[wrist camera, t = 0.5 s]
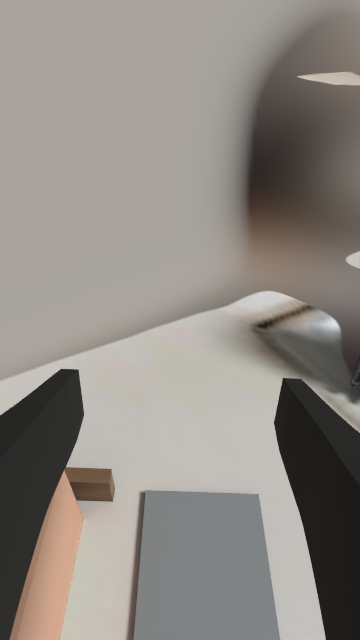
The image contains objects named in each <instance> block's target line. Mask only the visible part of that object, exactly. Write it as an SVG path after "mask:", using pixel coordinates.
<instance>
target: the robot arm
mask: <svg viewBox="0 0 360 640" xmlns="http://www.w3.org/2000/svg"><path fill="white" fill-rule="evenodd" d="M83 417H84V410H83V402H82V394H81V386H80V378H79V370H74V369H61V370H59V371H58V372H57V373H55V374H54V375H53V376H52V377H50V378H49V379H48V380H47V381H45V382H44V383H43V384H42V385H40V386H39V387H38V388H37V389H35V390H34V391H33V392H31V393H30V394H29V395H28V396H26V397H25V398H24V399H22V400H21V401H20V402H19V403H17V404H16V405H14V406H13V407H12V408H10V409H9V410H7V411H6V412H5V413H3V414H2V415H0V640H10V636H11V632H12V629H13V625H14V621H15V617H16V613H17V610H18V606H19V602H20V599H21V595H22V592H23V588H24V584H25V581H26V577H27V574H28V571H29V567H30V564H31V561H32V557H33V554H34V551H35V547H36V544H37V541H38V538H39V534H40V531H41V528H42V525H43V522H44V519H45V516H46V513H47V510H48V508H49V505H50V502H51V500H52V497H53V495H54V493H55V490H56V488H57V486H58V483H59V481H60V479H61V476H62V474H63V472H64V470H65V467H66V465H67V463H68V460H69V458H70V456H71V453H72V451H73V448H74V446H75V444H76V441H77V438H78V435H79V431H80V428H81V424H82V420H83ZM274 425H275V430H276V436H277V441H278V446H279V451H280V454H281V457H282V460H283V463H284V467H285V470H286V473H287V476H288V479H289V482H290V485H291V488H292V491H293V494H294V497H295V500H296V503H297V506H298V509H299V513H300V516H301V520H302V523H303V527H304V532H305V536H306V540H307V545H308V549H309V554H310V558H311V563H312V568H313V573H314V578H315V583H316V588H317V593H318V598H319V604H320V609H321V615H322V620H323V625H324V631H325V636H326V640H360V433H359V432H358V431H357V430H355V429H354V428H353V427H352V426H351V425H349V424H348V423H347V422H346V421H345V420H344V419H343V418H341V417H340V416H339V415H338V414H337V413H336V412H335V411H334V410H333V409H332V408H331V407H330V406H328V405H327V404H326V403H325V402H324V401H323V400H322V399H321V398H320V397H319V396H318V395H317V394H316V393H315V392H314V391H313V390H312V389H311V388H310V387H309V386H308V385H307V384H306V383H305V382H303V381H302V380H301V379H291V378H283V381H282V386H281V391H280V396H279V401H278V406H277V411H276V416H275V421H274Z"/></svg>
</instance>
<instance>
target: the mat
mask: <svg viewBox="0 0 360 640" xmlns="http://www.w3.org/2000/svg"><path fill="white" fill-rule="evenodd" d="M134 640H280V637H279V630H278V623H277V616H276V610H275V603H274V596H273V589H272V582H271V575H270V569H269V562H268V555H267V548H266V541H265V535H264V528H263V521H262V514H261V507H260V501H259V494H236V493H207V492H177V491H148V490H146V492H145V505H144V517H143V529H142V542H141V554H140V566H139V578H138V591H137V603H136V615H135V628H134Z"/></svg>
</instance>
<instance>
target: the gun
mask: <svg viewBox="0 0 360 640" xmlns="http://www.w3.org/2000/svg"><path fill="white" fill-rule="evenodd" d="M349 387H351V388H353V389H356V388H357V387H358V388H360V357H359V359H358V361H357V363H356V366H355V370H354V373H353V376H352V380H351V383H350V386H349Z"/></svg>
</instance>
